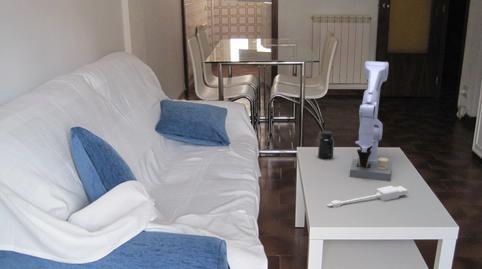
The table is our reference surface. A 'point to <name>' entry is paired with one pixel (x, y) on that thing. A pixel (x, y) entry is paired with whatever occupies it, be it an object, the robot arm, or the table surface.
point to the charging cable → (377, 195)
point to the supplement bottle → (326, 145)
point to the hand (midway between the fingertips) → (363, 163)
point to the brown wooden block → (361, 166)
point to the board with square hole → (372, 169)
